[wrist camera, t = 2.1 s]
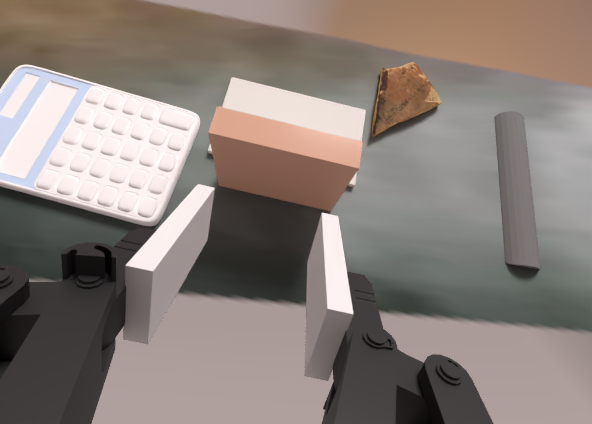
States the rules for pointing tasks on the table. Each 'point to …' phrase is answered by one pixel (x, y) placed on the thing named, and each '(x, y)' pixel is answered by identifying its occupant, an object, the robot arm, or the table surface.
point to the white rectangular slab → (295, 109)
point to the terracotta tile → (282, 159)
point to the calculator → (91, 145)
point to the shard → (402, 96)
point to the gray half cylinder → (516, 192)
